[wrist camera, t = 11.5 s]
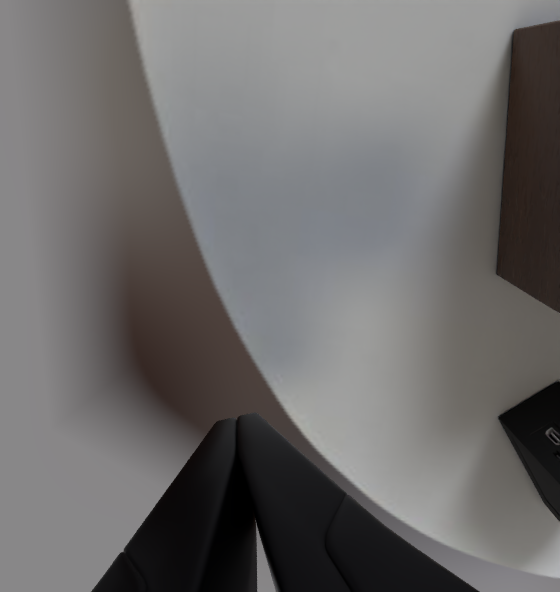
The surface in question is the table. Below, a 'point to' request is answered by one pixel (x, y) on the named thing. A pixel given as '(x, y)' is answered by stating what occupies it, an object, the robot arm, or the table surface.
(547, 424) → the digital camera
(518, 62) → the brown box
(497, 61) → the table surface
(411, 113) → the table surface
